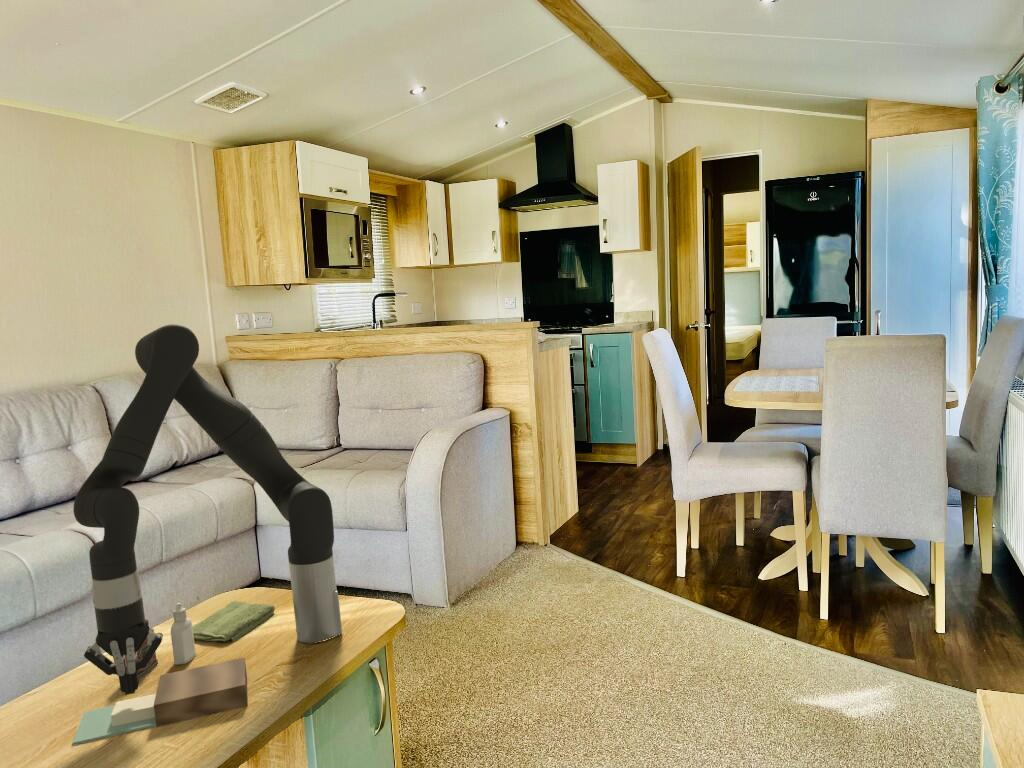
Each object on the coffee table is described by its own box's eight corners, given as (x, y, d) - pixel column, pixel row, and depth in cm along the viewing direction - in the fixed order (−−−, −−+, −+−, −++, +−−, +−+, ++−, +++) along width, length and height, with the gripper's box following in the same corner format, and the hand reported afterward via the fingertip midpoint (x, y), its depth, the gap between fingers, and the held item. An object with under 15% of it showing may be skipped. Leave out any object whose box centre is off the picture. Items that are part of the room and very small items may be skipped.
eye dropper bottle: (203, 654, 160) (196, 599, 159) (180, 667, 155) (173, 610, 154) (189, 651, 162) (183, 597, 161) (166, 663, 157) (159, 607, 156)
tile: (159, 703, 140) (158, 693, 140) (156, 717, 135) (154, 706, 135) (117, 712, 138) (116, 701, 137) (112, 726, 133) (110, 715, 133)
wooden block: (247, 676, 148) (244, 657, 148) (247, 705, 137) (245, 684, 137) (162, 695, 144) (160, 675, 143) (156, 727, 132) (153, 705, 132)
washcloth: (181, 642, 168) (179, 628, 168) (234, 610, 185) (233, 597, 184) (229, 647, 164) (228, 633, 163) (280, 614, 180) (278, 601, 180)
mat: (162, 696, 143) (162, 694, 143) (156, 725, 133) (156, 723, 133) (84, 713, 139) (84, 711, 139) (72, 745, 129) (72, 742, 128)
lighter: (135, 682, 150) (129, 633, 149) (120, 681, 151) (114, 633, 150) (162, 662, 158) (156, 616, 157) (147, 662, 158) (141, 616, 157)
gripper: (161, 584, 140) (172, 674, 142) (79, 598, 136) (92, 691, 137) (157, 598, 133) (169, 693, 135) (71, 613, 129) (84, 711, 130)
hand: (130, 692), depth 136 cm, fingers closed
